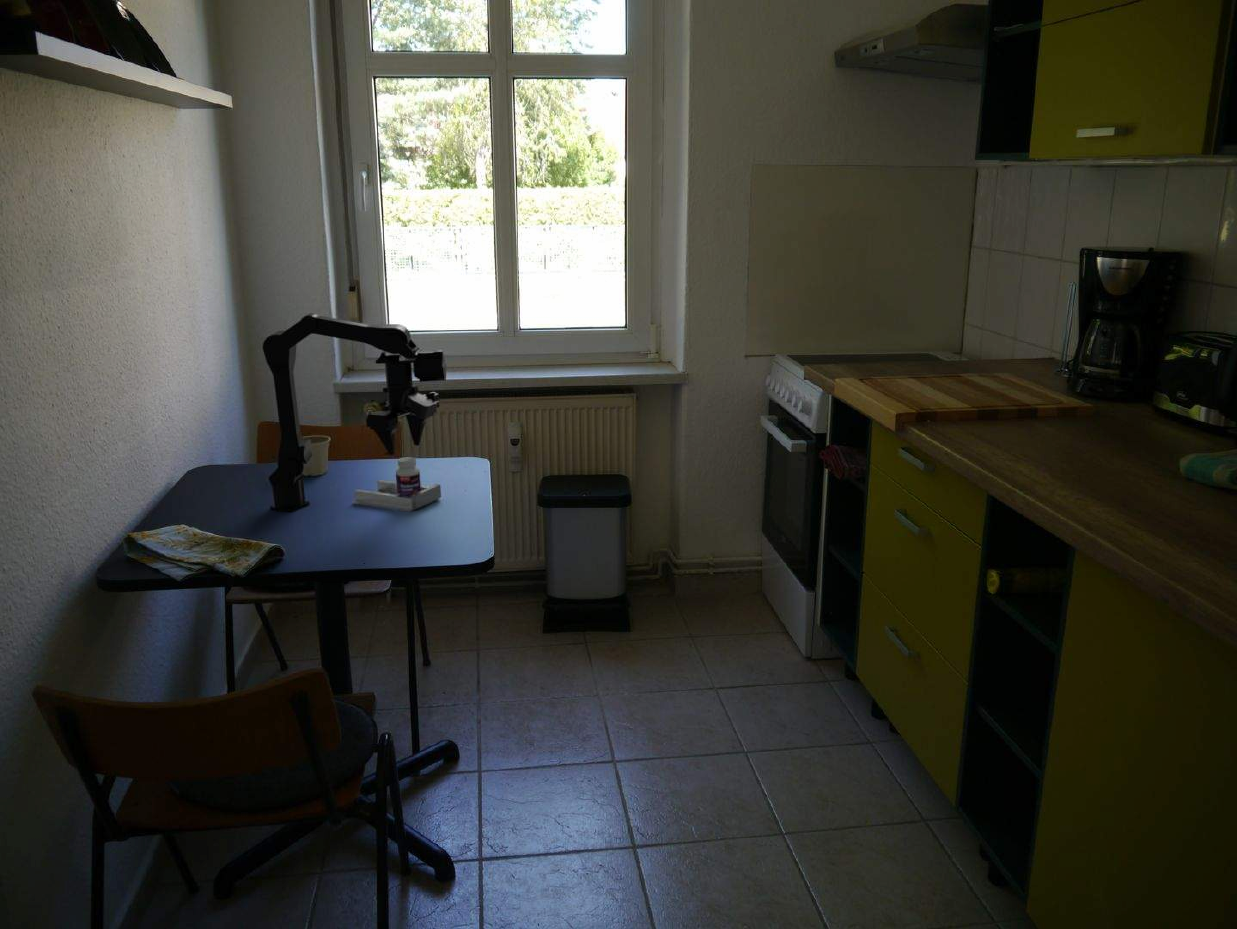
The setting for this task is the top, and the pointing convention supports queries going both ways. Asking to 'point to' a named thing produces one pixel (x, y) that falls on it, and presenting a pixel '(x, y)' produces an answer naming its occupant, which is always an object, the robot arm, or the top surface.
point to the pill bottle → (407, 477)
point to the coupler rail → (396, 497)
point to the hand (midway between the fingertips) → (404, 450)
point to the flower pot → (317, 455)
